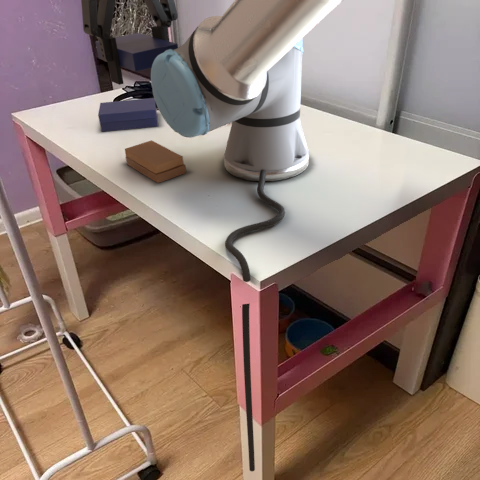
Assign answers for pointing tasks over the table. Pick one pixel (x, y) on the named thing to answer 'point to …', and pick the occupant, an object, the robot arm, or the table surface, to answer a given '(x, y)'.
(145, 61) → the navy book
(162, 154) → the brown pile
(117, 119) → the navy pile
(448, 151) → the table surface
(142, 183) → the table surface
